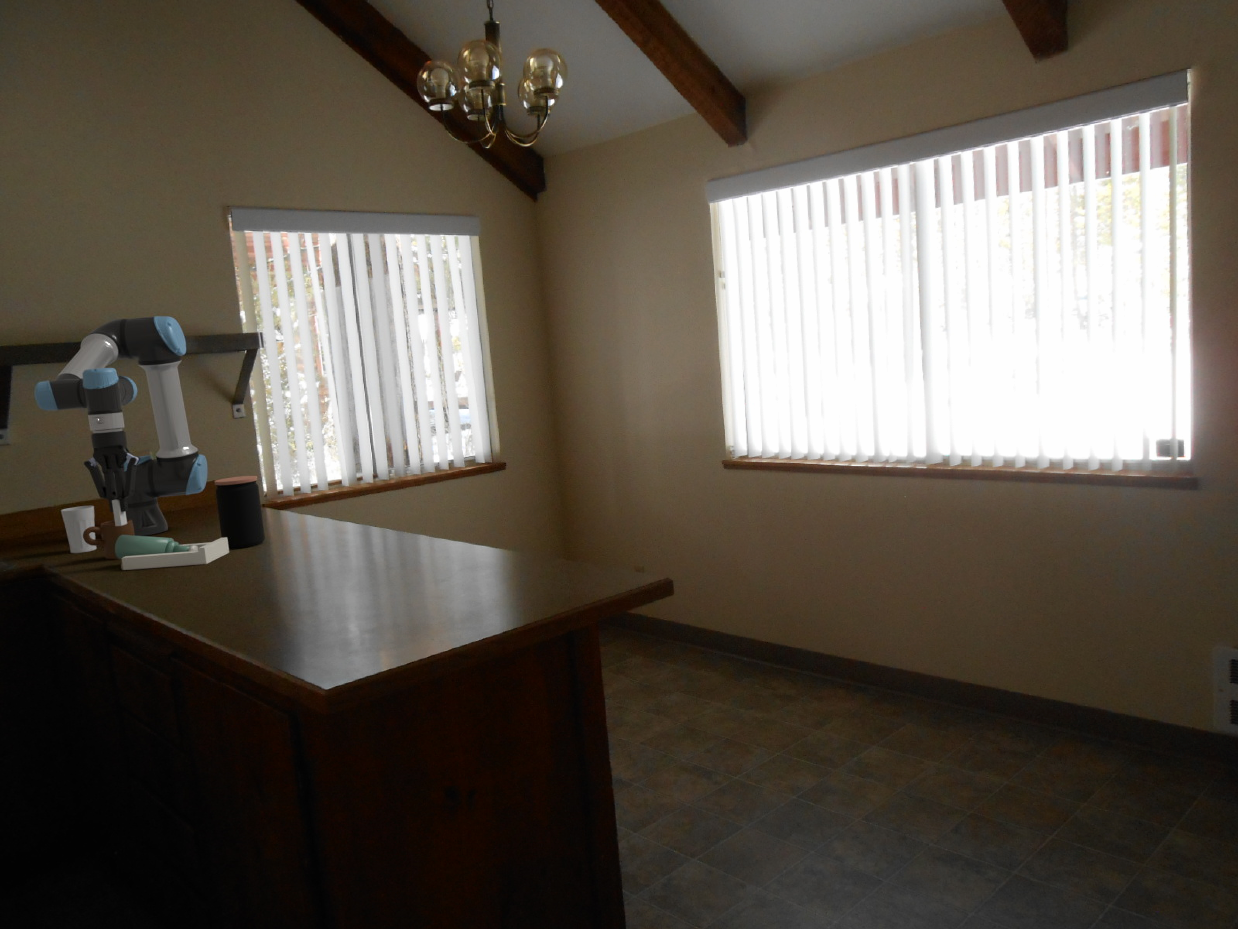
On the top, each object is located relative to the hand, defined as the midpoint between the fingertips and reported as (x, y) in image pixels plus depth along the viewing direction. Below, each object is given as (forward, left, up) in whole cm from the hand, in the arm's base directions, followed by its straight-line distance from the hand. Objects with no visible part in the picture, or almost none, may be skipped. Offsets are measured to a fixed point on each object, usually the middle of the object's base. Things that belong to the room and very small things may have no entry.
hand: (121, 524), depth 231 cm
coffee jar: (-16, +23, -10) cm, 30 cm away
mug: (-11, -10, -10) cm, 18 cm away
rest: (0, +12, -10) cm, 16 cm away
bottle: (0, -1, -6) cm, 6 cm away
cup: (-27, -27, -10) cm, 39 cm away
